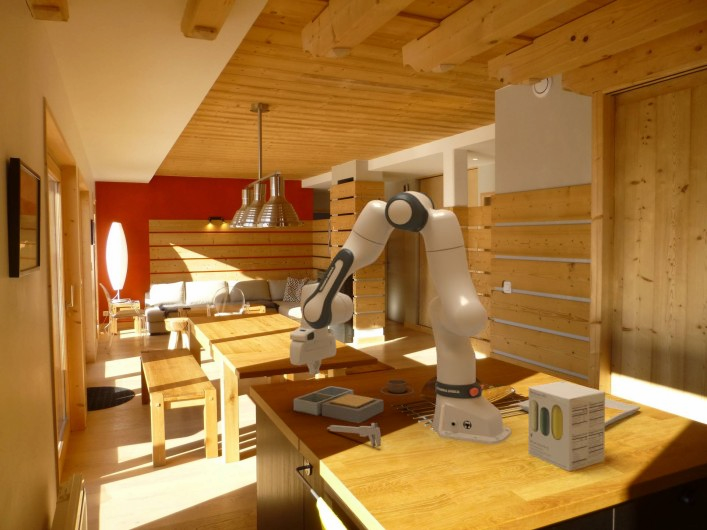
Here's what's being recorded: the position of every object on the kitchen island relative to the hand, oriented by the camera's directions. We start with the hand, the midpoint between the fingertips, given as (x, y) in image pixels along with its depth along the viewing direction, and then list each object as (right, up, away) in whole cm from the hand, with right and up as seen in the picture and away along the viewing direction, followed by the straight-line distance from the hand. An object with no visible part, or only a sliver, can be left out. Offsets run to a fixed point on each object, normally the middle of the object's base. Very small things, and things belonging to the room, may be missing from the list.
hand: (314, 374), depth 184 cm
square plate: (+83, -12, -6) cm, 84 cm away
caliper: (+12, -14, -28) cm, 33 cm away
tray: (+3, -12, +5) cm, 13 cm away
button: (+13, -11, -4) cm, 17 cm away
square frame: (+13, -12, -5) cm, 18 cm away
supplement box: (+66, -13, -42) cm, 79 cm away
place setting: (+32, -12, +19) cm, 39 cm away
